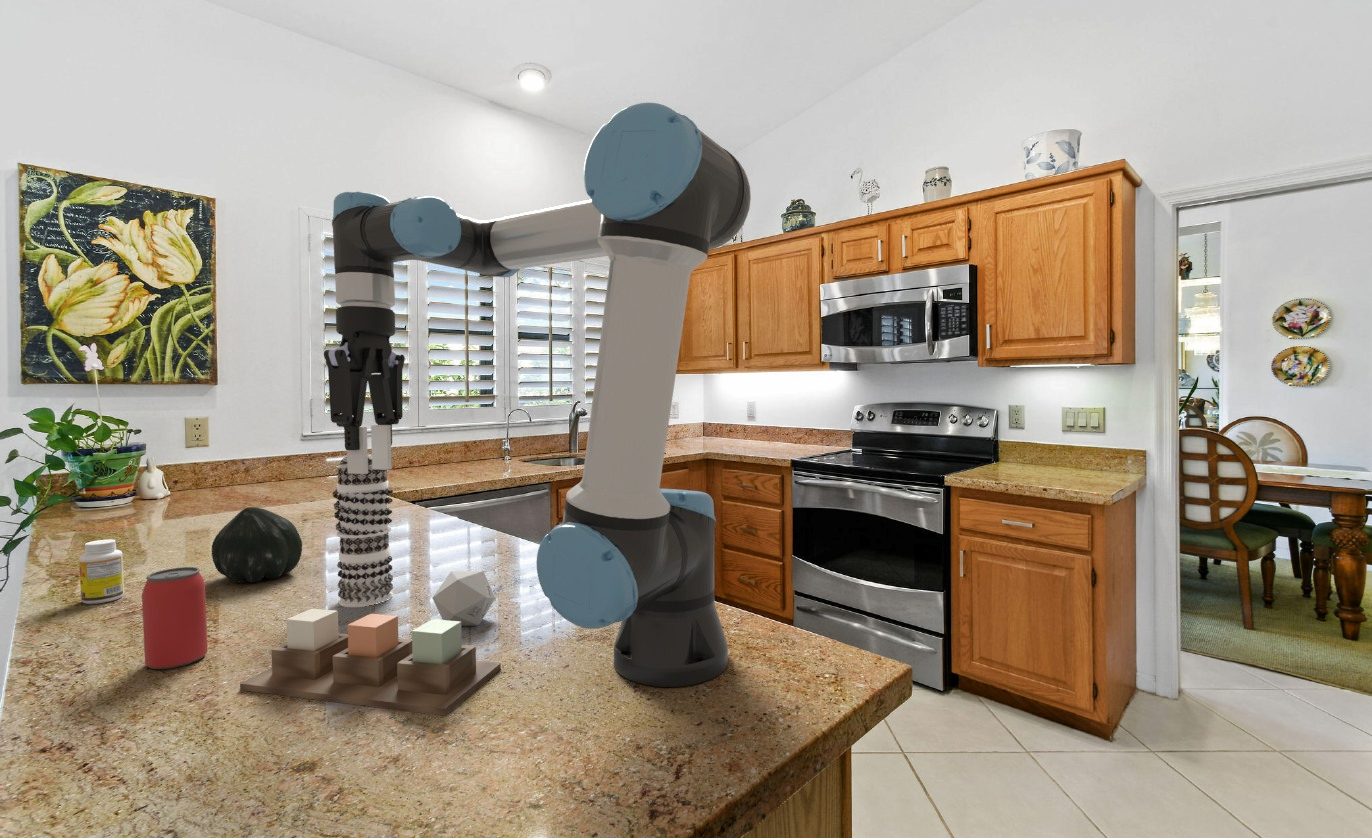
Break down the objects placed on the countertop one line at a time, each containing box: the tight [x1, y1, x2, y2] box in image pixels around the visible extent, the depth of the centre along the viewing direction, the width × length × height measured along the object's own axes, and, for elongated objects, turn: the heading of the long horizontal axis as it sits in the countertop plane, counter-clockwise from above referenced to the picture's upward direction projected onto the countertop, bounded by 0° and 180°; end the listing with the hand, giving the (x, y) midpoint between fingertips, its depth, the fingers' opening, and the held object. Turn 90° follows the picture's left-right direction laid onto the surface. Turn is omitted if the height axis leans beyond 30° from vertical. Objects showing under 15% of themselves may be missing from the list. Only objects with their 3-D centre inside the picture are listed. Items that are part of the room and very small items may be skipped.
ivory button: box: [286, 608, 339, 651], centre depth 81 cm, size 4×4×4 cm
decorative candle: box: [332, 454, 394, 609], centre depth 109 cm, size 9×9×25 cm
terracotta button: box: [347, 613, 400, 658], centre depth 79 cm, size 4×4×4 cm
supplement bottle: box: [78, 538, 125, 605], centre depth 110 cm, size 6×6×10 cm
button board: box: [239, 632, 502, 717], centre depth 79 cm, size 28×12×4 cm, turn 77°
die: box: [432, 570, 496, 627], centre depth 98 cm, size 8×9×10 cm
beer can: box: [141, 566, 208, 670], centre depth 85 cm, size 7×7×12 cm
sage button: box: [411, 618, 463, 665], centre depth 77 cm, size 4×4×4 cm
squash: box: [211, 506, 303, 584], centre depth 123 cm, size 14×15×15 cm
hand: (370, 470), depth 91 cm, fingers open, 4 cm apart
